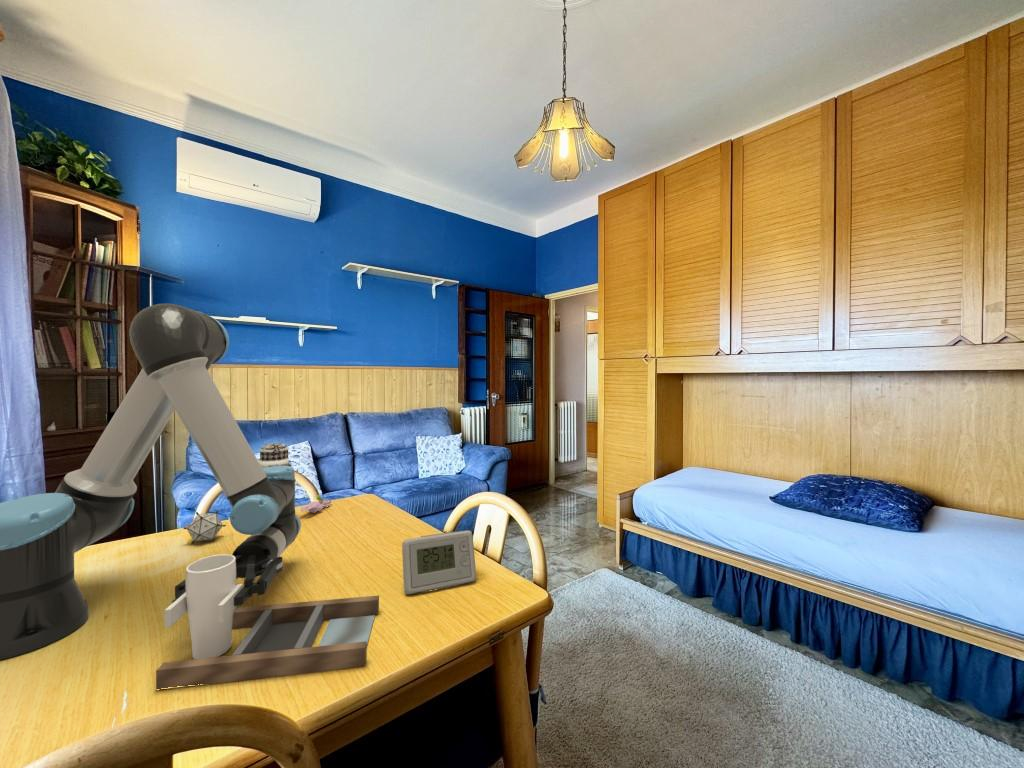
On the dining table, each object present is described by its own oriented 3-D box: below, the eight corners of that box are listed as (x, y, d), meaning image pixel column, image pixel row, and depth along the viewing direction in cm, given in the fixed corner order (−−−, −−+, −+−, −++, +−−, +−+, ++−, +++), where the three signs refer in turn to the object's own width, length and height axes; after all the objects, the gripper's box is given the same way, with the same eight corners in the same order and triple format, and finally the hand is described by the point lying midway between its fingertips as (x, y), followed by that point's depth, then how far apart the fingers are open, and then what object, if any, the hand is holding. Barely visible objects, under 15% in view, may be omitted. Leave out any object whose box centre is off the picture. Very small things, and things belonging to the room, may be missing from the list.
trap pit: (232, 674, 62) (231, 655, 62) (265, 626, 74) (265, 610, 74) (302, 666, 64) (301, 647, 64) (323, 620, 76) (323, 604, 76)
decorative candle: (297, 519, 129) (297, 441, 129) (281, 530, 120) (281, 446, 119) (268, 519, 129) (267, 441, 128) (250, 530, 120) (249, 446, 119)
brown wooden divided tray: (156, 690, 59) (156, 670, 59) (214, 625, 74) (214, 609, 74) (364, 666, 64) (364, 647, 64) (378, 610, 79) (378, 595, 79)
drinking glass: (217, 666, 64) (216, 572, 63) (175, 666, 64) (173, 572, 64) (246, 638, 71) (245, 553, 70) (207, 638, 71) (206, 553, 70)
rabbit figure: (319, 509, 144) (293, 516, 129) (320, 491, 145) (295, 497, 130) (336, 509, 144) (311, 517, 129) (337, 492, 145) (313, 497, 130)
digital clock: (400, 598, 84) (400, 547, 84) (403, 577, 93) (403, 531, 93) (478, 590, 87) (478, 541, 87) (473, 570, 96) (474, 526, 96)
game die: (206, 556, 111) (196, 536, 105) (182, 543, 112) (171, 522, 106) (235, 531, 118) (228, 510, 112) (212, 518, 119) (204, 497, 113)
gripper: (309, 566, 87) (263, 633, 64) (207, 573, 83) (120, 647, 60) (309, 531, 86) (263, 586, 64) (207, 537, 83) (120, 597, 60)
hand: (194, 616), depth 62 cm, fingers closed on drinking glass, 6 cm apart
